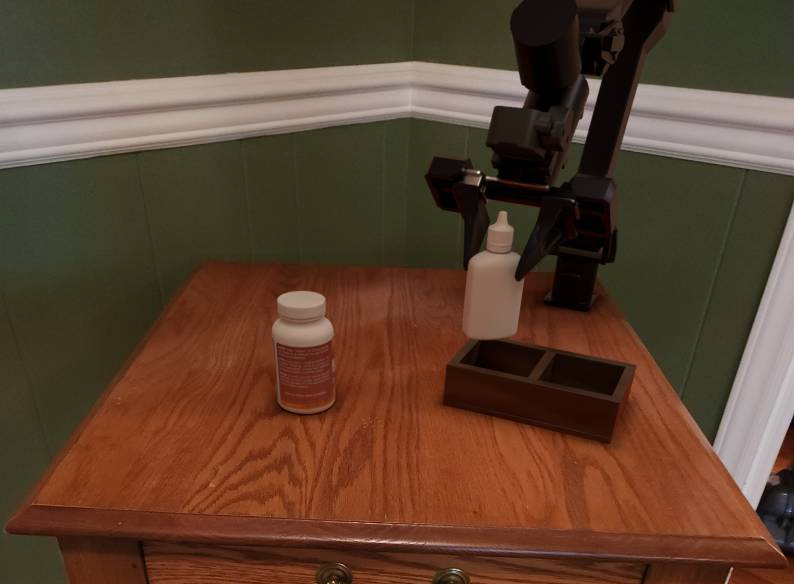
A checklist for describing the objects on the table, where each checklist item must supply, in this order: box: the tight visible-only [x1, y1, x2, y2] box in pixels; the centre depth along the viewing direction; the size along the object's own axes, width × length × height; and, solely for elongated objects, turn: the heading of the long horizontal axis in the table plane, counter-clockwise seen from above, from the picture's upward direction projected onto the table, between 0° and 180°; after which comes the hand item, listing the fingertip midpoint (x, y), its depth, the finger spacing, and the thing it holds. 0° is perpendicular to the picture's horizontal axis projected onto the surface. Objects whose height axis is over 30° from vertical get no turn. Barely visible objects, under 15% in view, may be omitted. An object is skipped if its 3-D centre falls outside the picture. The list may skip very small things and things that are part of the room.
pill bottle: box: [271, 290, 336, 415], centre depth 74 cm, size 6×6×11 cm
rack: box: [442, 338, 637, 444], centre depth 77 cm, size 9×18×5 cm, turn 66°
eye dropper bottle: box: [461, 210, 525, 340], centre depth 72 cm, size 4×6×12 cm
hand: (490, 274), depth 71 cm, fingers closed on eye dropper bottle, 5 cm apart
